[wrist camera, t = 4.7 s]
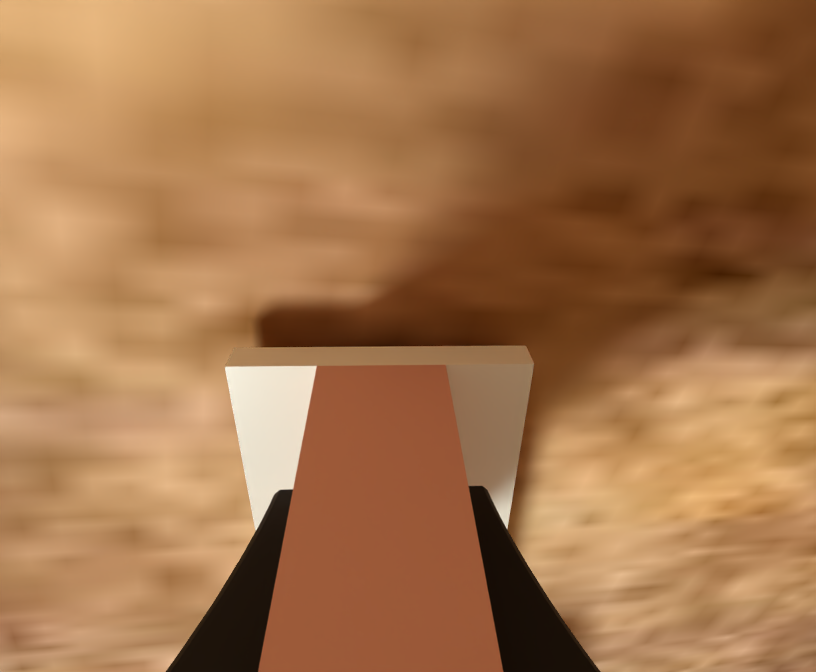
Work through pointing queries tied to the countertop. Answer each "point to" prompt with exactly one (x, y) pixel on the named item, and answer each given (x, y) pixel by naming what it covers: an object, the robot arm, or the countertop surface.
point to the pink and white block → (380, 498)
